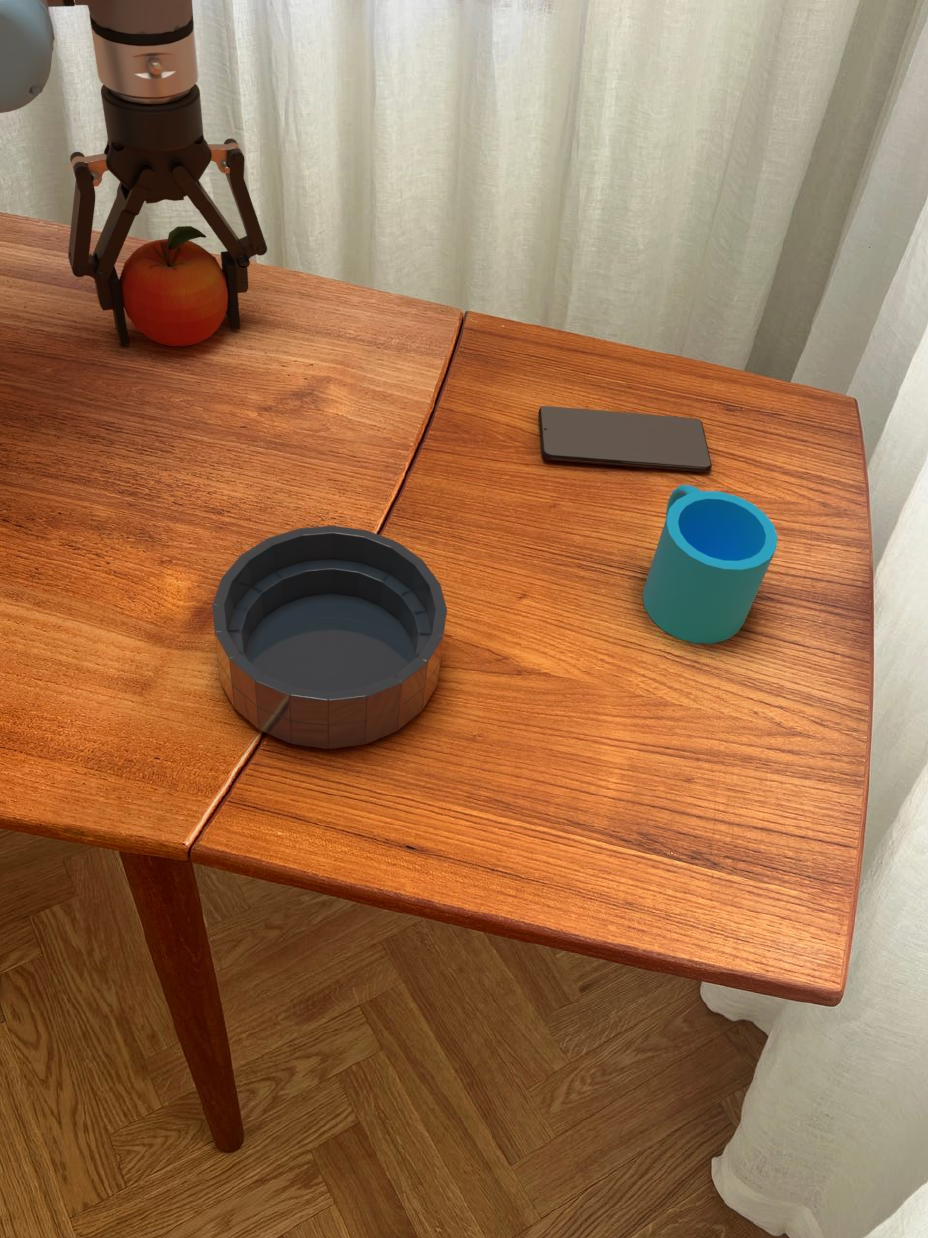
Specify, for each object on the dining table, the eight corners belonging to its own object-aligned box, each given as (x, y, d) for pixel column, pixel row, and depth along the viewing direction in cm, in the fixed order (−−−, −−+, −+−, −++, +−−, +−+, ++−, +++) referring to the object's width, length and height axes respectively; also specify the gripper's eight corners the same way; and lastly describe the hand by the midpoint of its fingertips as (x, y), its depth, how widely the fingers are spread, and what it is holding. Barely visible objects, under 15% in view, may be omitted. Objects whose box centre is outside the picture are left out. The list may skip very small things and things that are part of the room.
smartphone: (713, 467, 96) (543, 454, 95) (710, 475, 97) (541, 462, 96) (701, 417, 101) (538, 403, 100) (699, 425, 102) (537, 411, 100)
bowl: (175, 699, 76) (166, 643, 72) (289, 555, 86) (287, 498, 82) (379, 787, 73) (382, 735, 69) (473, 628, 83) (481, 573, 78)
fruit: (109, 317, 104) (92, 218, 96) (204, 293, 108) (195, 196, 100) (150, 374, 99) (136, 274, 91) (248, 346, 103) (242, 249, 96)
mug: (761, 638, 85) (795, 565, 79) (661, 648, 83) (687, 574, 77) (708, 529, 93) (735, 453, 86) (615, 536, 91) (636, 460, 85)
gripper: (5, 116, 81) (60, 370, 98) (301, 94, 87) (305, 335, 104) (-7, 71, 85) (48, 321, 102) (276, 53, 92) (284, 291, 109)
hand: (178, 328), depth 103 cm, fingers closed on fruit, 9 cm apart
